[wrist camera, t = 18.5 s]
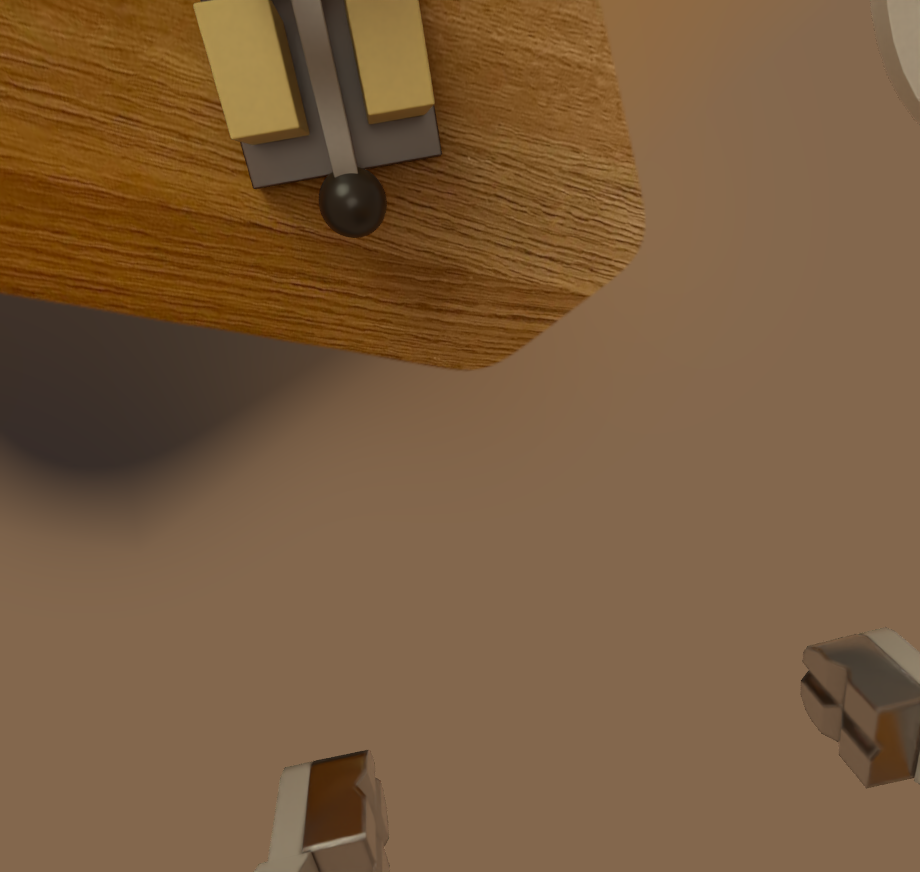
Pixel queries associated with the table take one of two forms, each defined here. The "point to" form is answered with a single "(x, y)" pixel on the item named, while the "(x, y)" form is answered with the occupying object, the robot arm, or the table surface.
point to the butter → (273, 76)
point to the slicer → (368, 140)
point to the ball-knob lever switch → (337, 136)
